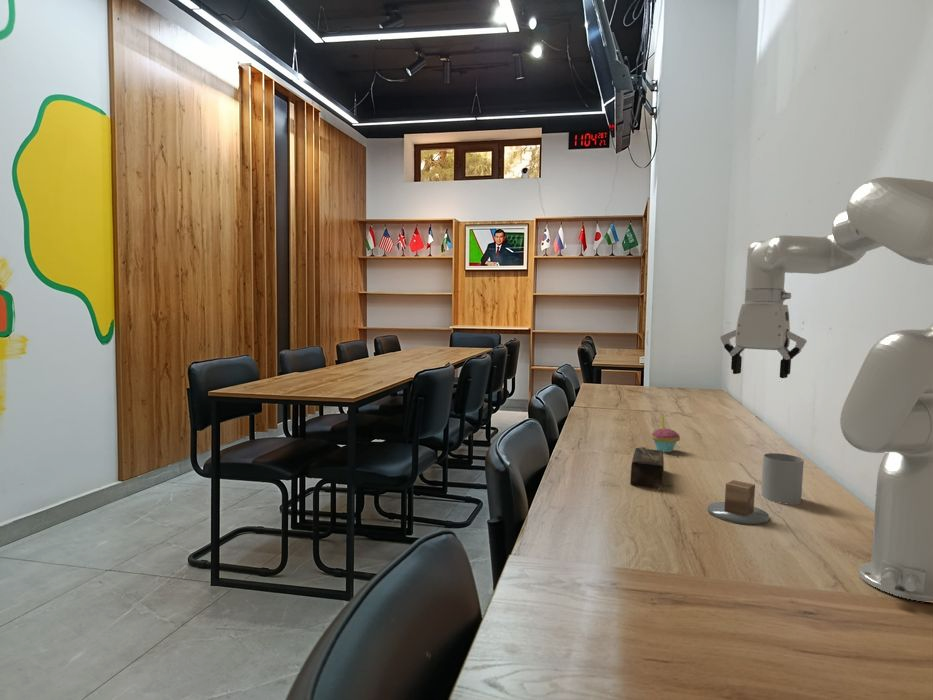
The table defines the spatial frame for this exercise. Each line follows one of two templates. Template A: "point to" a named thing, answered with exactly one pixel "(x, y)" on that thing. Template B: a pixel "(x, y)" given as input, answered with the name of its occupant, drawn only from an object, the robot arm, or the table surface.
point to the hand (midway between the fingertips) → (759, 375)
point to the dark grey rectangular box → (647, 468)
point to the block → (739, 497)
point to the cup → (782, 478)
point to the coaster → (753, 518)
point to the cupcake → (665, 438)
